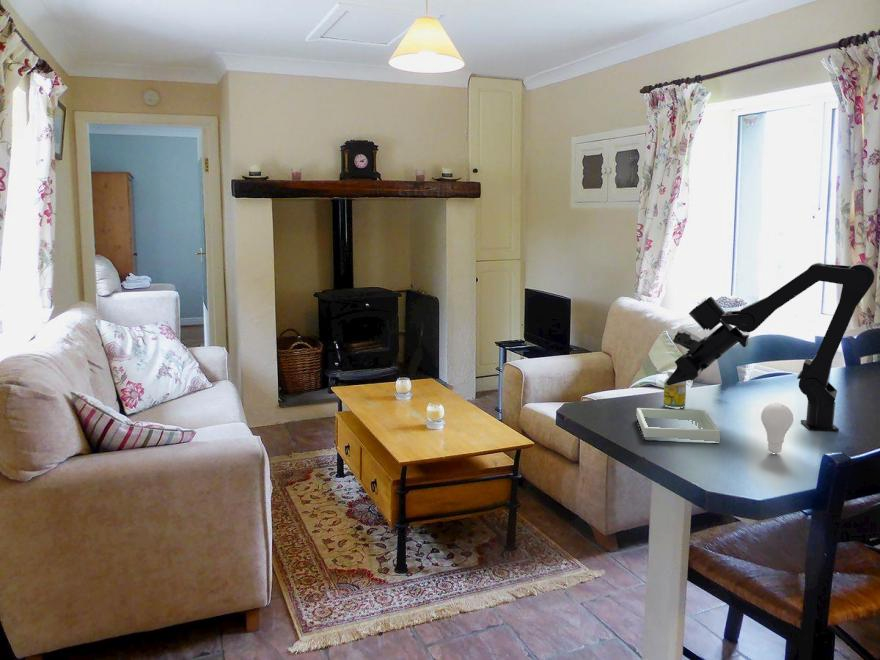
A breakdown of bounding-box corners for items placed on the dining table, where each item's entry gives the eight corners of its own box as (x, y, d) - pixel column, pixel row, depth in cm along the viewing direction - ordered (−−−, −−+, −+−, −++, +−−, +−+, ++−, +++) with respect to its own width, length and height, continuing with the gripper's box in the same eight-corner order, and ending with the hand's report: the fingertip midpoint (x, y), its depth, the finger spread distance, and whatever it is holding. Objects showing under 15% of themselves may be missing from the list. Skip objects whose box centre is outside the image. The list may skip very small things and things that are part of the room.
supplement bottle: (689, 408, 184) (691, 372, 183) (673, 410, 182) (675, 374, 180) (674, 403, 189) (676, 367, 188) (658, 405, 187) (660, 370, 185)
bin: (719, 444, 157) (720, 430, 156) (644, 440, 159) (644, 427, 159) (704, 422, 172) (705, 410, 172) (636, 419, 175) (636, 408, 174)
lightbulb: (794, 453, 151) (798, 403, 149) (785, 461, 146) (789, 409, 144) (764, 447, 155) (767, 398, 153) (754, 454, 150) (758, 404, 148)
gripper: (702, 314, 187) (658, 351, 195) (685, 325, 172) (638, 364, 180) (732, 347, 185) (686, 383, 192) (718, 360, 169) (668, 399, 177)
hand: (669, 381), depth 185 cm, fingers closed on supplement bottle, 5 cm apart
